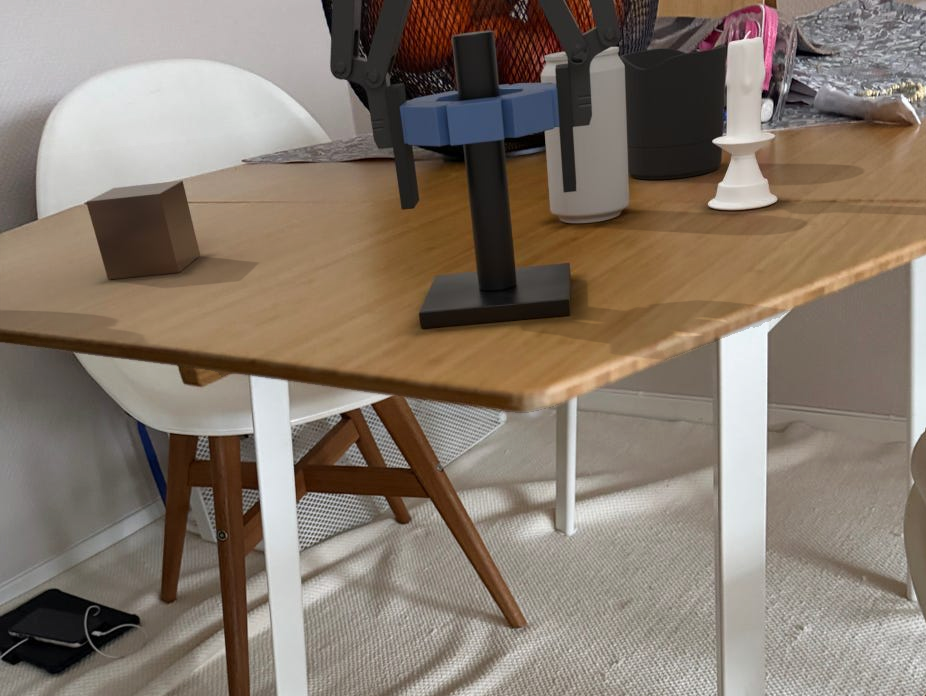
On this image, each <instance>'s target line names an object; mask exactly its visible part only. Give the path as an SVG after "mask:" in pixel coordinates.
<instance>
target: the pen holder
mask: <svg viewBox="0 0 926 696" xmlns="http://www.w3.org/2000/svg"><path fill="white" fill-rule="evenodd" d="M727 48H728V45H727V44H726V43H725V44H719V45H716V46H714V47H713V48H711V49H705V50H699V51H693V52H685V51H682V50H678V49H675V48H668V47H667V48H652V49H645V50H640V51H639V50H638V51H634V52H629V53H625V54H622V55H620V56H619V55H618V56H619V58H620V59H621V60H622V62H623V64H624V65H625V91H626V121H627V150H628V174H629V175H630V177H632V178H634V179H639V180H673V179H682V178H689V177H695V176H701V175H705V174H708V173H711V172H714V171H716V170H718V169H719V166H720V165H721V163H722V158H723V157H722V154H723V149H722V148H720V147H719V146H717V145H715V144H714V143H713V142H712V141H713V140H714V139H716V138H719V137H722V136H724V122H725V121H724V120H725V119H724V118H725V98H726V97H725V96H726V95H725V92H726V73H727Z"/></svg>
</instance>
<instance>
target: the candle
mask: <svg viewBox="0 0 926 696" xmlns="http://www.w3.org/2000/svg"><path fill="white" fill-rule="evenodd" d="M751 32H752V30H749V31H748V32H747V33H746V34H745V36H744V38H743V39H739V40H733V41H730V42H728V45H727V54H726V74H725V87H726V135H722V137H719V138H716V139H714V140H713V141H712V142H713V143H714V144H715V145H717V146H719V147H720V148H722V150H724V151H725V152H726V153H728V154H730V155H731V156H730V161H729V163H728V167H727V170H726V173H725V175H724V177H723V179H722V181H720V182H718V184H717V189H716V194H715V197H714V198H712V199H710V200H709V201H708V203H707V206H708V207H709V208H711V209H714V210H720V211H742V210H753V209H759V208H764V207H769V206H770V205H773V204H774V203H776V202H778V196H776V195H775V194H773V193H771V190H770V185H769V180H768V179H767V178H765V177H764V176H763V174H762V171H761V169H760V165H759V164H758V161H757V157H756V152H758V151H759V150H760V149H761V148H763V147H764V146H766V145H767V144H768V143H770V141H772V140H773V139H774V138H776V134H774V133H771V132H762V91H763V85H764V84H765V83H764V82H765V81H766V65H765V57H764V56H765V53H764V52H765V49H764V47H765V45H764V40H763V38H762V37H761V36H756V37H753V38H748V36H750V33H751Z"/></svg>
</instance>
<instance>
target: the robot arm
mask: <svg viewBox="0 0 926 696" xmlns="http://www.w3.org/2000/svg"><path fill="white" fill-rule="evenodd" d="M362 1H363V0H332V3H331V5H332V8H331V31H330V32H331V35H330V61H329V67H330V68H329V69H330V73H331V74H332V76H333V77H334V78H335V79H337V80H340V81H341V80H344V81H347V82H352V83H355V84H358V85H359V86H361V87H362V88H363V89H364V91H365V93H366V96H367V102H368V109H369V116H370V122H371V129H372V137H373V141H374V143H375V145H376V147H377V149H378V150H382V149H383V150H384V149H391V148H392V151H393V158H394V165H395V172H396V180H397V186H398V187H397V188H398V194H399V200H400V209H401V211H404V210H413V209H415V208H416V206H417V205H418V203H419V202H420V194H419V186H418V178H417V171H416V170H417V169H416V164H415V155H414V148H413V147H414V146H413V145H408V144H405V143H404V136H403V128H402V121H401V114H400V106H401V105H402V104H403V103H405V102H406V101H407V96H406V87H405V82H401V83H395V84H391V78H392V75H391V74H392V71H393V68H394V64H395V60H396V58H397V54H398V51H399V47H400V45H401V41H402V36H403V33H404V30H405V26H406V23H407V20H408V16H409V13H410V9H411V5H412V2H413V0H383V2H382V4H381V8H380V12H379V16H378V19H377V22H376V26H375V30H374V34H373V37H372V41H371V45H370V47H369V51H368V56H367V58H365V57H363V56H360V41H361V40H360V39H361V20H362V19H361V18H362ZM536 1H537V2H538V5H539V7H540V8H541V11H542V12H543V15H544V16H545V18H546V20H547V22H548V24H549V26H550V27H551V30H552V31H553V32H554V35H555V37H556V39H557V40H558V42H559V44H560V45H561V48H562V49H563V52H565V53H566V55H567V58H568V64H559V65H556V67H555V73H556V88H557V94H558V109H559V124H560V126H559V132H560V147H561V161H562V176H563V191H564V193H565V192H575V191H576V169H575V153H574V136H573V127H578V126H587V125H589V124H590V121H591V118H592V102H591V83H590V64H591V61H592V60H593V58H594V57H595V56H596V55H597V54H599V53H601V52H603V51H604V50H606V49H608V48H610V47H616V45H618V43H619V42H620V40H621V36H622V33H621V31H622V30H621V27H620V23H619V18H618V15H617V11H616V7H615V3H614V0H588V1H589V5H590V9H591V12H592V17H593V19H594V20H593V21H594V24H595V27H593V28H591V29H588V30H587V31H585V32H584V33H583V32H582V30H581V29H580V26H579V25H578V22H577V20H576V18H575V17H574V15H573V13H572V11H571V10H570V7H569V6H568V3H567V2H566V0H536Z"/></svg>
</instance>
